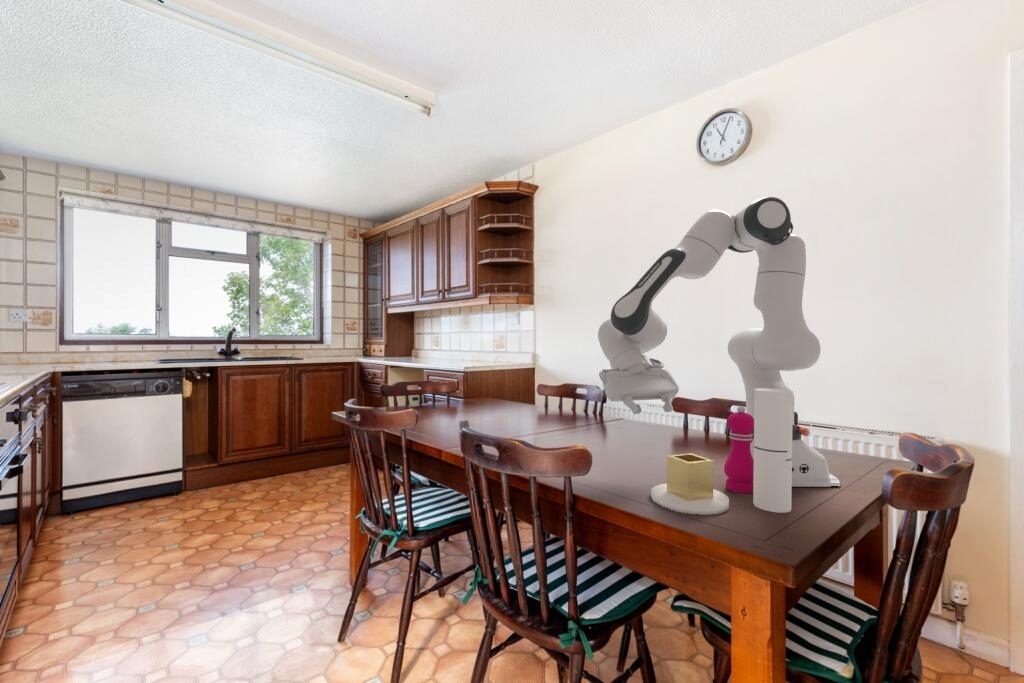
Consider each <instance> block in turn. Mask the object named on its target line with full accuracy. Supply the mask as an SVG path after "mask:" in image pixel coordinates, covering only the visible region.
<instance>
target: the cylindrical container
mask: <svg viewBox="0 0 1024 683" xmlns="http://www.w3.org/2000/svg"><path fill="white" fill-rule="evenodd" d="M793 394H794V391H793V390H791V389H790V390H784V389H768V388H759V389H755V400H754V479H753V481H752V482H753V493H752V494H753V496H752V504H754V505H753V506H755V507H756V508H757V507H758V508H757V509H760V510H763V511H767V512H769V513H770V512H771V513H772V512H773V513H778V514H779V513H780V514H781V513H783V514H784V513H789V512H791V511H792V491H793V490H792V421H793Z"/></svg>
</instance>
